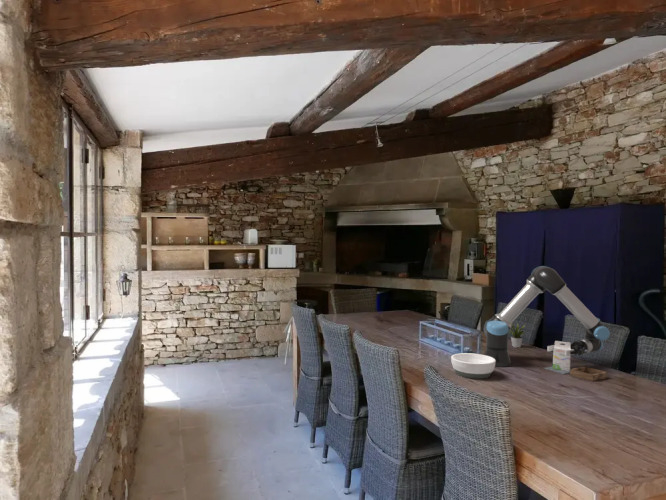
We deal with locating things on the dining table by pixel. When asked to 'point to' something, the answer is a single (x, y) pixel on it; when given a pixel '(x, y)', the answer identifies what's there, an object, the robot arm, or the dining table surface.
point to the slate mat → (557, 370)
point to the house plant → (516, 336)
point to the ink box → (561, 356)
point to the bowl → (473, 365)
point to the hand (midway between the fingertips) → (556, 350)
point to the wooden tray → (588, 373)
